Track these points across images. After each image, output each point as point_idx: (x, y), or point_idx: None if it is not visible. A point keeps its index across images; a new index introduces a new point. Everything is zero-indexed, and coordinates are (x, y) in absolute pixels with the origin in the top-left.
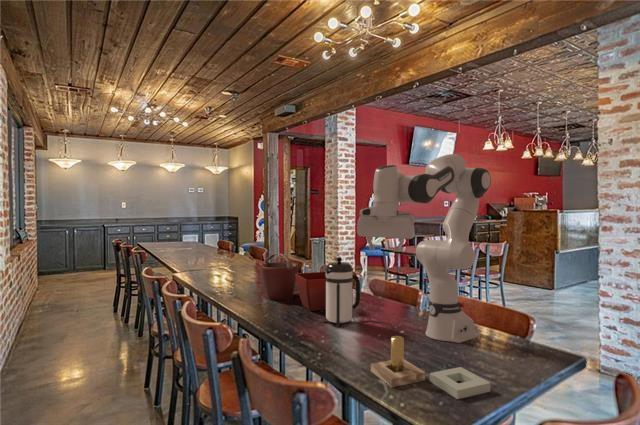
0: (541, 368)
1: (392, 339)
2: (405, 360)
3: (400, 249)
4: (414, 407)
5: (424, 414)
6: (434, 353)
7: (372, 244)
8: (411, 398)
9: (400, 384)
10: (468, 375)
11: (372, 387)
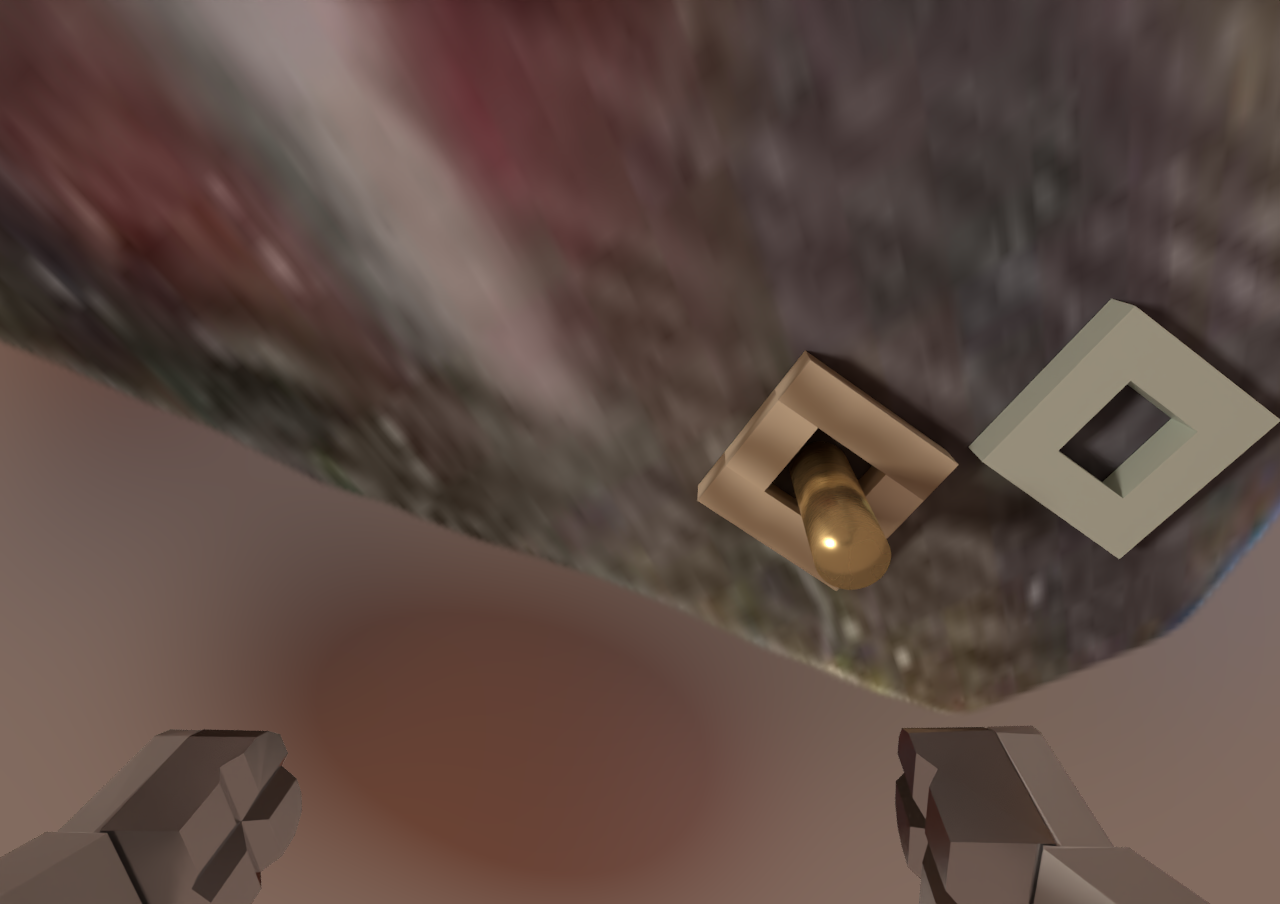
0: None
1: (831, 583)
2: (834, 379)
3: (1053, 770)
4: (948, 657)
5: (989, 680)
6: (934, 54)
7: (116, 861)
8: (925, 610)
9: None
10: (1174, 393)
11: (764, 602)
